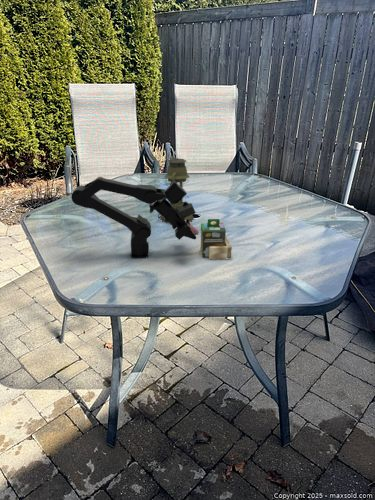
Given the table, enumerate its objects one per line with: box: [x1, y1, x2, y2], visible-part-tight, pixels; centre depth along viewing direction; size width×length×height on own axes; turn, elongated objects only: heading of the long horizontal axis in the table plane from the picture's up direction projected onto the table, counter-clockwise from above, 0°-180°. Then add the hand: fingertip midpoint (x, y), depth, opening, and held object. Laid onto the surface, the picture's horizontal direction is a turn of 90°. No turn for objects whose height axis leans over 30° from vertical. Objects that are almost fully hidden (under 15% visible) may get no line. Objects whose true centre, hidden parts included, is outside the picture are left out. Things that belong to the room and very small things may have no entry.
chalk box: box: [200, 218, 227, 258], centre depth 150 cm, size 9×9×15 cm
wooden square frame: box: [208, 235, 233, 260], centre depth 152 cm, size 8×14×5 cm, turn 6°
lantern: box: [157, 157, 195, 224], centre depth 186 cm, size 21×18×30 cm
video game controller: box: [184, 220, 199, 235], centre depth 174 cm, size 10×5×7 cm, turn 21°
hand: (195, 238), depth 150 cm, fingers closed
